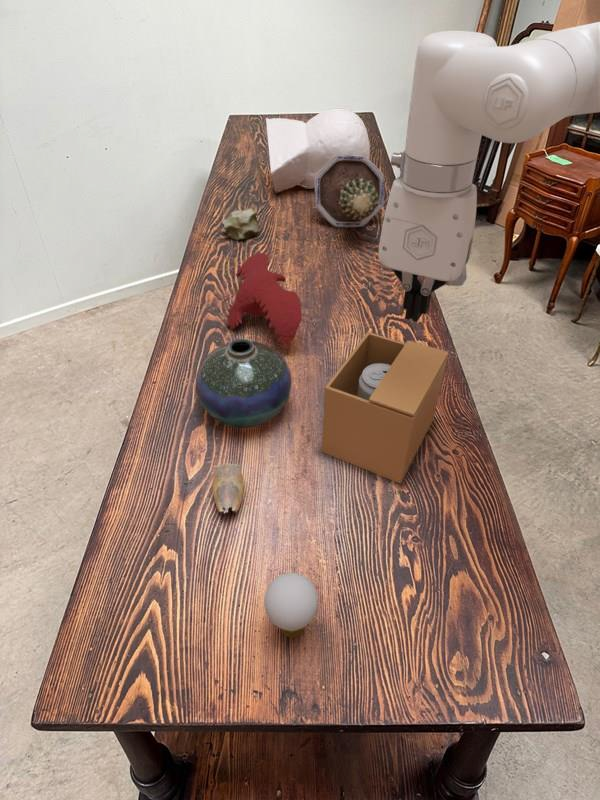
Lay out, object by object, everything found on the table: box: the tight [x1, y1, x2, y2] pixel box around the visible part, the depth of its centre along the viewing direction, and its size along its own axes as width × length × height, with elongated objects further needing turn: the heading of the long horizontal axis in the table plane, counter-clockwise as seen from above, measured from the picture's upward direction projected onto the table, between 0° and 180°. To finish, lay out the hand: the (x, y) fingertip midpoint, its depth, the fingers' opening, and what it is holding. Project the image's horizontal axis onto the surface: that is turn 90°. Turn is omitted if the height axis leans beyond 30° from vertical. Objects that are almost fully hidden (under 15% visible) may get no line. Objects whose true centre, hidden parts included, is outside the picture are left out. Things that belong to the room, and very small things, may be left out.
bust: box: [265, 107, 371, 194], centre depth 154 cm, size 30×22×24 cm
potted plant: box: [314, 154, 385, 229], centre depth 135 cm, size 18×18×30 cm
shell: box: [212, 462, 244, 515], centre depth 76 cm, size 8×4×5 cm, turn 14°
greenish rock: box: [221, 207, 263, 241], centre depth 136 cm, size 9×9×8 cm
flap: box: [369, 340, 449, 416], centre depth 76 cm, size 6×15×1 cm, turn 151°
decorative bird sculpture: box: [226, 252, 303, 346], centre depth 107 cm, size 28×9×15 cm
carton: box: [321, 331, 449, 484], centre depth 82 cm, size 13×15×14 cm
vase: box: [195, 338, 293, 429], centre depth 86 cm, size 15×15×13 cm
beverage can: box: [357, 363, 390, 400], centre depth 82 cm, size 6×6×12 cm
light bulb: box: [263, 572, 319, 639], centre depth 60 cm, size 6×6×10 cm
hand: (414, 315), depth 70 cm, fingers closed
